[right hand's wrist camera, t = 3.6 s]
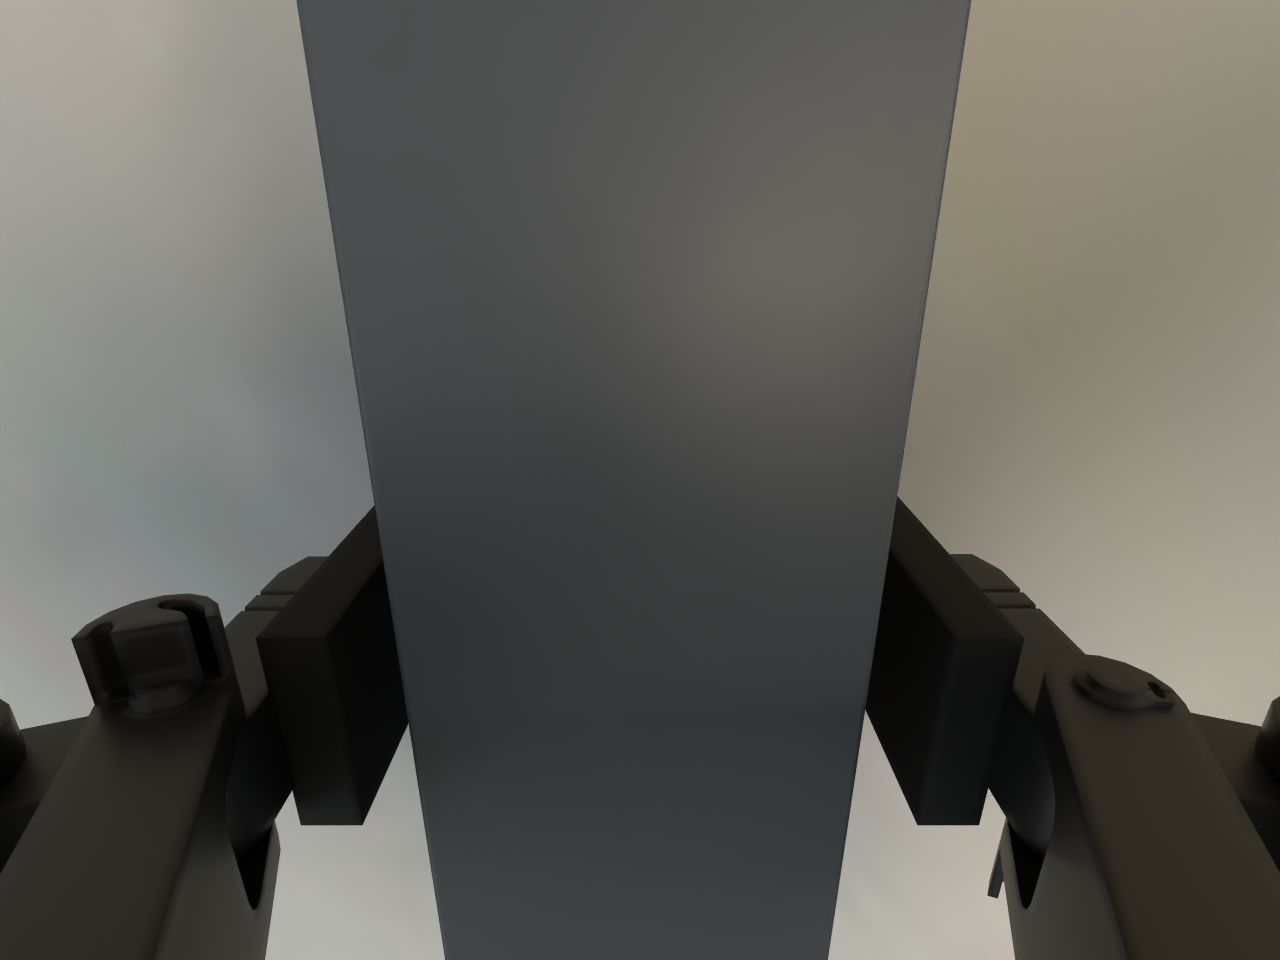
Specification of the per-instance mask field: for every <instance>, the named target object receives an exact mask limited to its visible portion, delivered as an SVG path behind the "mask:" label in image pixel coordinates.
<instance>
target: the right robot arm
mask: <svg viewBox="0 0 1280 960" xmlns="http://www.w3.org/2000/svg"><path fill="white" fill-rule="evenodd" d="M71 640H72V643H73V645H74V648H75V651H76V654H77V657H78V659H79V662H80V665H81V668H82V670H83V673H84V676H85V679H86V682H87V684H88V687H89V690H90V693H91V695H92V698H93V701H94V704H95V706H94V707H93V709H92V711H91V713H90V714H89V716H87V717H82V718H77V719H72V720H67V721H62V722H57V723H52V724H47V725H42V726H36V727H31V728H26V729H21V730H20V729H19V727H18V725H17V722H16V720H15V717H14V715H13V713H12V710H11V708H10V705H9V704H8V703H6V702H4V701H3V700H1V699H0V960H265V956H266V949H267V942H268V935H269V928H270V921H271V913H272V906H273V899H274V892H275V885H276V878H277V871H278V864H279V857H280V842H279V835H278V831H277V828H276V824H275V818H276V817H277V815H278V813H279V811H280V810H281V808H282V806H283V805H284V803H285V801H286V800H287V798H288V796H289V795H290V793H291V791H292V790H293V794H294V799H295V803H296V807H297V811H298V815H299V819H300V823H301V825H363V823H364V821H365V818H366V816H367V814H368V812H369V810H370V807H371V805H372V803H373V801H374V798H375V796H376V794H377V792H378V790H379V787H380V785H381V783H382V781H383V779H384V776H385V774H386V772H387V770H388V767H389V765H390V763H391V761H392V759H393V756H394V754H395V752H396V750H397V747H398V745H399V743H400V741H401V739H402V736H403V734H404V732H405V730H406V727H407V725H408V723H409V722H408V716H407V709H406V703H405V697H404V690H403V684H402V677H401V671H400V664H399V658H398V651H397V645H396V638H395V632H394V626H393V619H392V613H391V606H390V600H389V593H388V587H387V580H386V574H385V568H384V561H383V555H382V548H381V542H380V535H379V529H378V522H377V516H376V509H375V505H374V506H373V508H372V509H371V510H370V511H369V512H368V513H367V514H366V515H365V516H364V518H363V519H362V520H361V521H360V522H359V523H358V524H357V525H356V527H355V528H354V529H353V530H352V531H351V532H350V533H349V534H348V535H347V537H346V538H345V539H344V540H343V541H342V542H341V543H340V544H339V545H338V547H337V548H336V549H335V550H334V551H333V552H332V553H331V554H330V556H329V557H307V558H305V559H303V560H301V561H299V562H298V563H296V564H294V565H292V566H290V567H289V568H287V569H285V570H283V571H281V572H280V573H278V574H277V575H276V576H275V577H274V578H273V580H272V581H271V582H270V583H269V584H268V585H267V586H266V587H265V588H264V589H263V590H262V591H261V595H257V596H256V597H255V598H254V599H253V600H252V601H251V602H250V603H249V604H248V605H247V606H246V607H245V611H241V612H240V613H239V614H238V615H237V616H236V617H235V618H234V619H233V620H232V621H231V622H230V623H229V624H228V625H227V626H226V627H225V628H224V625H223V621H222V617H221V614H220V610H219V606H218V603H216V602H215V601H213V600H212V599H210V598H209V597H207V596H200V595H194V594H177V595H164V596H159V597H155V598H151V599H146V600H142V601H137V602H134V603H132V604H129V605H126V606H124V607H121V608H118V609H116V610H113V611H110V612H108V613H106V614H105V615H103V616H101V617H99V618H98V619H96V620H94V621H92V622H91V623H89V624H87V625H86V626H85V627H83V628H82V629H81V630H80V631H79V632H78V633H77V634H76V635H75V636H74V637H73V638H72V639H71ZM865 710H866V712H867V714H868V716H869V719H870V721H871V723H872V725H873V727H874V730H875V732H876V734H877V736H878V739H879V741H880V743H881V745H882V747H883V750H884V752H885V754H886V756H887V759H888V761H889V763H890V765H891V767H892V770H893V772H894V774H895V776H896V779H897V781H898V783H899V785H900V787H901V790H902V792H903V794H904V796H905V799H906V801H907V803H908V805H909V807H910V810H911V812H912V814H913V816H914V818H915V821H916V823H917V825H979V823H980V819H981V815H982V811H983V807H984V803H985V799H986V794H987V790H988V788H989V789H990V791H991V793H992V794H993V796H994V798H995V799H996V801H997V803H998V804H999V806H1000V808H1001V809H1002V811H1003V813H1004V814H1005V816H1006V820H1005V824H1004V828H1003V831H1002V835H1001V839H1000V843H999V847H998V850H997V854H996V858H995V862H994V866H993V870H992V873H991V877H990V882H989V888H988V896H991V897H994V898H998V896H999V892H1000V888H1001V884H1002V882H1004V883H1005V890H1006V897H1007V904H1008V911H1009V918H1010V926H1011V933H1012V940H1013V947H1014V954H1015V960H1280V697H1278V698H1277V699H1275V700H1273V701H1272V703H1271V705H1270V708H1269V710H1268V713H1267V715H1266V717H1265V720H1264V722H1263V724H1262V727H1261V726H1256V725H1250V724H1245V723H1240V722H1235V721H1230V720H1225V719H1220V718H1215V717H1209V716H1204V715H1199V714H1194V713H1190V711H1189V709H1188V708H1187V706H1186V704H1185V703H1184V702H1183V701H1182V699H1181V698H1180V697H1179V696H1178V695H1177V694H1176V693H1175V691H1174V690H1173V689H1172V688H1171V687H1169V686H1168V685H1166V684H1165V683H1163V682H1162V681H1160V680H1159V679H1157V678H1156V677H1154V676H1153V675H1151V674H1149V673H1147V672H1145V671H1143V670H1140V669H1138V668H1136V667H1134V666H1131V665H1129V664H1127V663H1124V662H1121V661H1117V660H1113V659H1109V658H1106V657H1102V656H1097V655H1086V654H1085V653H1084V652H1083V651H1082V650H1081V649H1080V648H1079V647H1078V646H1077V645H1076V644H1075V643H1074V642H1073V641H1072V640H1071V639H1070V638H1069V637H1068V636H1067V635H1066V634H1065V633H1064V632H1063V631H1061V630H1060V629H1059V628H1058V627H1057V626H1056V625H1055V624H1054V623H1053V622H1052V621H1051V620H1050V619H1049V618H1048V617H1047V616H1046V615H1045V614H1044V613H1043V612H1042V611H1041V610H1040V609H1036V607H1035V604H1034V603H1033V602H1032V601H1031V600H1030V599H1029V598H1028V597H1027V596H1026V595H1025V594H1024V593H1020V589H1019V588H1018V587H1017V586H1016V585H1015V584H1014V583H1013V582H1012V581H1011V580H1010V579H1009V578H1008V577H1007V576H1006V575H1005V574H1004V573H1003V572H1002V571H1001V570H1000V569H998V568H996V567H994V566H993V565H991V564H989V563H987V562H985V561H984V560H982V559H980V558H978V557H976V556H974V555H973V554H949V553H948V552H947V551H946V550H945V549H944V548H943V547H942V545H941V544H940V543H939V542H938V541H937V540H936V539H935V538H934V537H933V535H932V534H931V533H930V532H929V531H928V530H927V529H926V528H925V527H924V525H923V524H922V523H921V522H920V521H919V520H918V519H917V518H916V516H915V515H914V514H913V513H912V512H911V511H910V510H909V509H908V508H907V506H906V505H905V504H904V503H903V502H902V501H901V500H900V499H899V498H898V496H897V500H896V506H895V513H894V520H893V526H892V533H891V540H890V546H889V553H888V560H887V567H886V573H885V580H884V587H883V593H882V600H881V607H880V613H879V620H878V627H877V633H876V640H875V647H874V654H873V660H872V667H871V674H870V680H869V687H868V694H867V700H866V707H865Z"/></svg>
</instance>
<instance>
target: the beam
mask: <svg viewBox="0 0 1280 960" xmlns="http://www.w3.org/2000/svg"><path fill="white" fill-rule="evenodd" d="M970 4H971V0H297V6H298V13H299V19H300V26H301V32H302V39H303V45H304V51H305V58H306V64H307V71H308V77H309V84H310V90H311V97H312V103H313V109H314V116H315V122H316V129H317V135H318V142H319V148H320V155H321V161H322V168H323V174H324V180H325V187H326V193H327V200H328V206H329V213H330V219H331V226H332V232H333V238H334V245H335V251H336V258H337V264H338V271H339V277H340V284H341V290H342V297H343V303H344V309H345V316H346V322H347V329H348V335H349V342H350V348H351V355H352V361H353V368H354V374H355V380H356V387H357V393H358V400H359V406H360V413H361V419H362V426H363V432H364V438H365V445H366V451H367V458H368V464H369V471H370V477H371V484H372V490H373V497H374V503H375V509H376V516H377V522H378V529H379V535H380V542H381V548H382V555H383V561H384V568H385V574H386V580H387V587H388V593H389V600H390V606H391V613H392V619H393V626H394V632H395V638H396V645H397V651H398V658H399V664H400V671H401V677H402V684H403V690H404V697H405V703H406V709H407V716H408V722H409V729H410V735H411V742H412V748H413V755H414V761H415V768H416V774H417V780H418V787H419V793H420V800H421V806H422V813H423V819H424V826H425V832H426V838H427V845H428V851H429V858H430V864H431V871H432V877H433V884H434V890H435V897H436V903H437V909H438V916H439V922H440V929H441V935H442V942H443V948H444V955H445V960H828V955H829V948H830V941H831V935H832V928H833V921H834V915H835V908H836V901H837V894H838V888H839V881H840V874H841V868H842V861H843V854H844V848H845V841H846V834H847V828H848V821H849V814H850V807H851V801H852V794H853V787H854V781H855V774H856V767H857V761H858V754H859V747H860V741H861V734H862V727H863V720H864V714H865V707H866V700H867V694H868V687H869V680H870V674H871V667H872V660H873V654H874V647H875V640H876V633H877V627H878V620H879V613H880V607H881V600H882V593H883V587H884V580H885V573H886V567H887V560H888V553H889V546H890V540H891V533H892V526H893V520H894V513H895V506H896V500H897V493H898V486H899V480H900V473H901V466H902V459H903V453H904V446H905V439H906V433H907V426H908V419H909V413H910V406H911V399H912V393H913V386H914V379H915V372H916V366H917V359H918V352H919V346H920V339H921V332H922V326H923V319H924V312H925V306H926V299H927V292H928V286H929V279H930V272H931V265H932V259H933V252H934V245H935V239H936V232H937V225H938V219H939V212H940V205H941V199H942V192H943V185H944V178H945V172H946V165H947V158H948V152H949V145H950V138H951V132H952V125H953V118H954V112H955V105H956V98H957V91H958V85H959V78H960V71H961V65H962V58H963V51H964V45H965V38H966V31H967V25H968V18H969V11H970Z"/></svg>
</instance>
